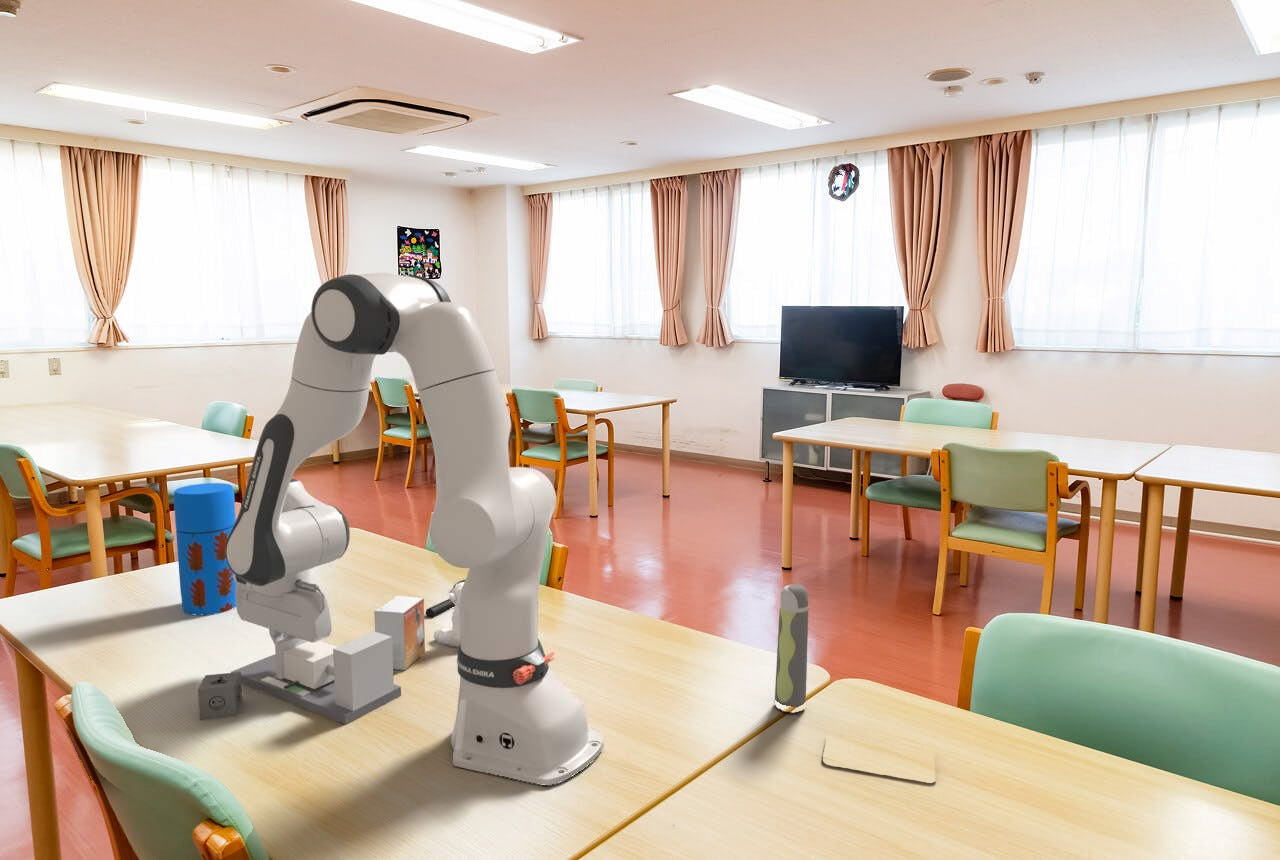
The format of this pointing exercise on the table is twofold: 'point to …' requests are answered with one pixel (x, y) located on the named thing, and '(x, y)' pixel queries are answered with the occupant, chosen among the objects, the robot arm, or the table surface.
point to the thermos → (205, 547)
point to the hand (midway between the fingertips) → (285, 654)
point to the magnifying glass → (441, 606)
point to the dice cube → (220, 696)
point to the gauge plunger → (304, 662)
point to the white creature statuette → (446, 634)
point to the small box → (403, 628)
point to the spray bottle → (792, 647)
